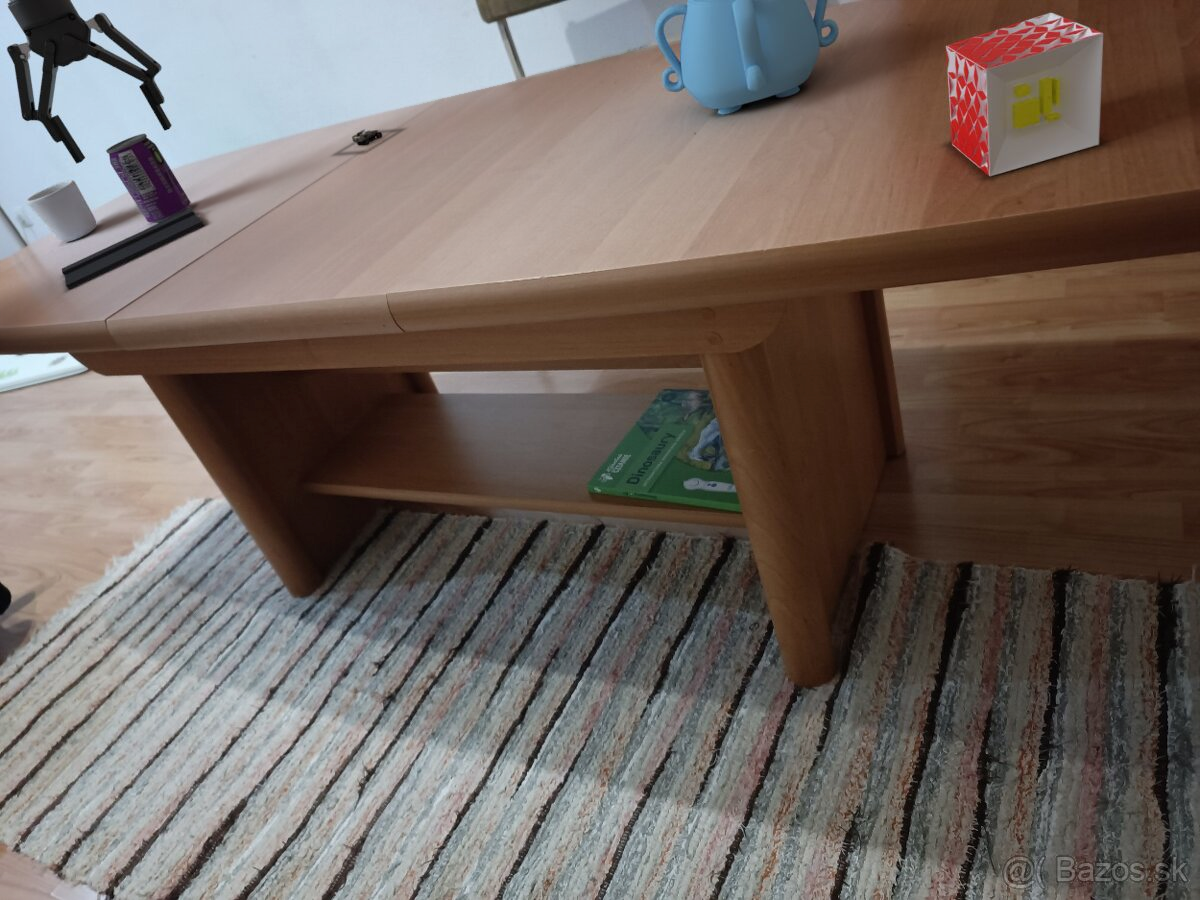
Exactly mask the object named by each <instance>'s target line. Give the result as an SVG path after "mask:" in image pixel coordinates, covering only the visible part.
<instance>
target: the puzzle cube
mask: <svg viewBox="0 0 1200 900" xmlns="http://www.w3.org/2000/svg"><path fill="white" fill-rule="evenodd" d="M945 54H946V55H945V56H946V71H947V83H948V85H947V86H948V100H949V116H950V135H951V145H952V146H953V147H955V149H957V150H958V151H959V152H960V153H961V154H962V155H964V156H965V157H966V158H967V159H969V160H970V161H971V162H972V163H973V164H974V165H976V166H977V167H978V168H979V169H980V170H981V171H982V172H984V174H986V175H987V176H988V177H993V176H997V175H1000V174H1003V173H1006V172H1010V171H1014V170H1017V169H1021V168H1024V167H1027V166H1031V165H1034V164H1037V163H1042V162H1043V161H1044V162H1045V161H1048V160H1051V159H1054V158H1058V157H1061V156H1065V155H1068V154H1072V153H1075V152H1078V151H1082V150H1085V149H1089V148H1093V147H1095V146H1100V135H1101V111H1102V109H1101V108H1102V85H1103V58H1104V57H1103V56H1104V32H1102V31H1098V30H1096V29H1093V28H1092V27H1088V26H1086V25H1083V24H1081V23H1079V22H1076V21H1074V20H1071V19H1069V18H1066V17H1064V16H1062V15H1059V14H1056V13H1053V12H1048V13H1046V14H1042V15H1039V16H1035V17H1032V18H1030V19H1026V20H1023V21H1019V22H1016V23H1014V24H1011V25H1006V26H1004V27H1001V28H998V29H995V30H992V31H988V32H985V33H982V34H979V35H975V36H973V37H969V38H965V39H963V40H960V41H957V42H954V43H950V44H948V45H945Z"/></svg>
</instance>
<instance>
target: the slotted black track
mask: <svg viewBox="0 0 1200 900" xmlns="http://www.w3.org/2000/svg"><path fill="white" fill-rule="evenodd" d="M203 227H205V224H204V222H203V221H202V220H201V219H200V218H199V217H198V215H197V214H196V212H195V211H194V210H193V209H192V208H187V210H186V211H184V212H182V213H180V214H178V215H176V216H173V217H171V218H169V219H167V220H165V221H163V222H161V223H156V224H154V225H152V226H150V227H147V228H145V229H143V230H141V231H139V232H137V233H135V234H133V235H131V236H129V237H126V238H124V239H122V240H120V241H118V242H115V243H114V244H111V245H109V246H107V247H105V248H102V249H100V250H98V251H96V252H94V253H92V254H90V255H88V256H85V257H84V258H81V259H79V260H77V261H75V262H73V263H71V264H67V265H66V266H64V267H62V268H61V273H62V275H64V282H65V287H66V288H67V290H69V291H70V290H72V289H74V288H77V287H78V286H81V285H82V284H85V283H87V282H89V281H91V280H93V279H95V278H97V277H99V276H102V275H103V274H105V273H108V272H109V271H112V270H114V269H116V268H118V267H120V266H123V265H124V264H126V263H129V262H130V261H133V260H135V259H137V258H139V257H141V256H143V255H145V254H148V253H150V252H152V251H155V250H156V249H158V248H160V247H163V246H165V245H167V244H169V243H171V242H173V241H175V240H177V239H179V238H182V237H184V236H186V235H188V234H190V233H192V232H195V231H196V230H198V229H200V228H203Z"/></svg>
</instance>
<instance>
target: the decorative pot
mask: <svg viewBox="0 0 1200 900" xmlns="http://www.w3.org/2000/svg"><path fill="white" fill-rule="evenodd" d="M815 4H816V5H815V10H814V15H812V12H811V11H810V8H809V7H808V4H807V3H806V1H805V0H687V2H686V4H684V3H682V4H681V3H680V4H679V3H678V4H673V5H671V6H669V7H667V8H666V9H665V10H664V11H663V12H662V13H661V14H660V15H659V16H658V18H657V20H656V22H655V25H654V37H655V38H654V39H655V41H656V43H657V46H658V48H659V50H660V51H661V53H662V54H663V56H664V58H665V59H666V61H667V62H668V63H669V65H670V66H669V67H667V68H665V70H664V71H663V73H662V75H661V83H662V85H663V87H664V89H665V90H667V91H668V92H672V93H678V92H681V91H683V90H684V89H685V91H687V93H689V94H690V95H691V97H692V98H694V100H696V102H698V103H699V104H700V105H702V106H703V107H705V108H707V109H714V110H718V111H717V114H718V115H728V114H732V113H734V112H737V111H739V110H740V109H741V108H742V105H745V104H749V103H752V102H755V101H760V100H763V99H766V98H770V97H773V96H775V97H776V98H786V97H789V96H792V95H795V94H797V93H798V92H799V91H800V90H801V89H800V87H799V86H800V85H802V84H803V83H805V82H806V81H807V80H808V79H809V77H810V76H811V73H812V72H813V69H814V67H815V64H816V62H817V60H818V57H819V54H820V48H822V49H823V48H827V47H829V46H831V45H832V44H834V43H835V42H836V41H837V39H838V37H839V27H838V24H837V22H836V20H833V19H831V18H827V19H825V15H826V11H827V10H826V9H827V4H828V0H816V3H815ZM682 15H684V16H683V22H682V27H681V34H680V35H681V36H680V44H679V58H678V57H677V55H676V54H675V52H674V51H673V49H672V48H671V46H670V44H669V43H668V41H667V37H666V35H665V30H664V28H665V25H666V23H667V22H668V21H669V20H670V19H672V18H674V17H675V16H682ZM824 28H829V30H830V31H829V33H828V34H827V35H825V36H823V29H824ZM673 74H676V77H677V81H676V82H673V81H672V80H670V75H673Z"/></svg>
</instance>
